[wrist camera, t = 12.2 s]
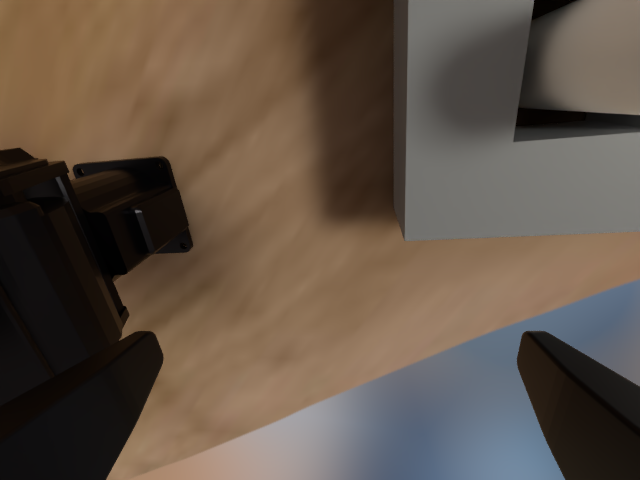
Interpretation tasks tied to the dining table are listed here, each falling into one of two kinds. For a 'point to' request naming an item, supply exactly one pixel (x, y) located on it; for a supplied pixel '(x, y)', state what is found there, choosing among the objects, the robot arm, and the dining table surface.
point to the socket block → (496, 135)
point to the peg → (584, 58)
